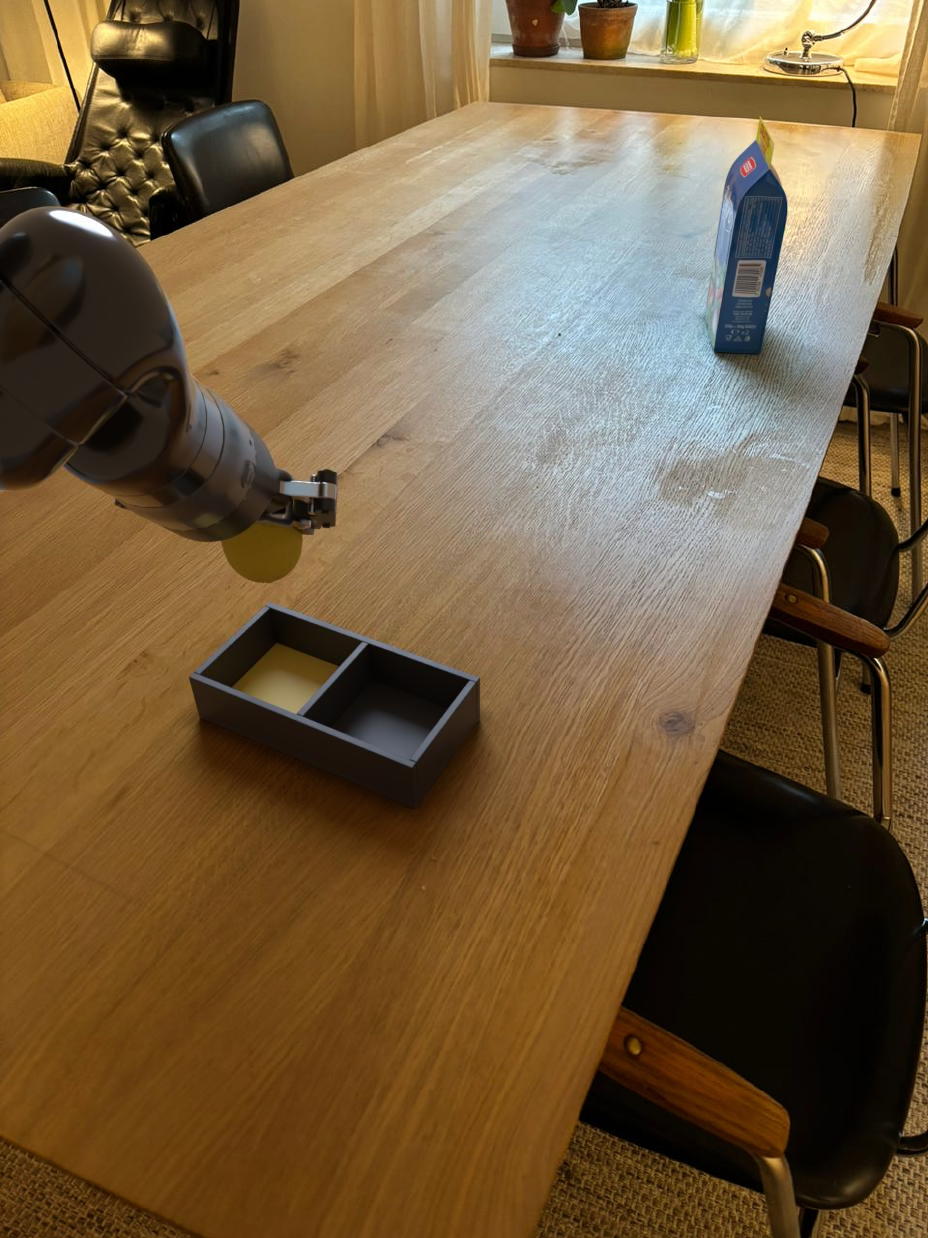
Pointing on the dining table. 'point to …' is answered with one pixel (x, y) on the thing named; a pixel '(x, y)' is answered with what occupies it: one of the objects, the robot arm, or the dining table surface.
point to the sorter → (339, 702)
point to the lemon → (264, 552)
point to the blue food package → (746, 250)
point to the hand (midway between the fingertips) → (266, 518)
